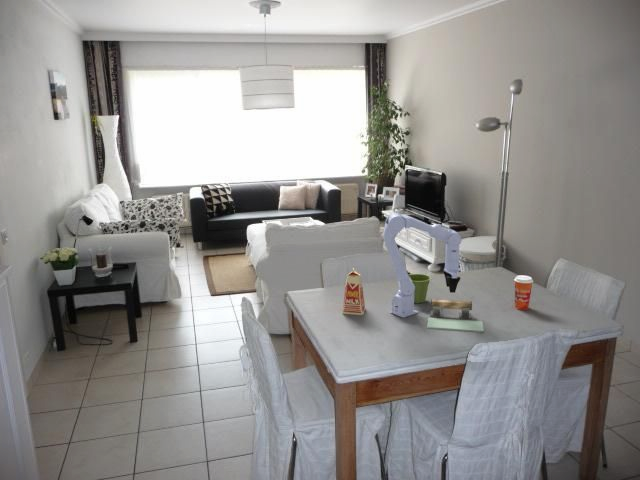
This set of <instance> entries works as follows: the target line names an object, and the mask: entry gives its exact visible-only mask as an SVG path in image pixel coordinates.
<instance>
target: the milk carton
mask: <svg viewBox="0 0 640 480" xmlns="http://www.w3.org/2000/svg"><path fill="white" fill-rule="evenodd" d="M345 280H346V281H345V287H344V298H343V306H342V313H341V314H342V315H343V314H344V315H355V316H364V313H365V310H366V303H365V296H364V287H363V282H362V281H363V280H362V275H361V274H360V273H359V272H357V271H356V270H355V268H354V267H352V270H351V272H349V273H348V274H347V276H346V279H345Z"/></svg>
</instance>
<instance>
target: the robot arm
mask: <svg viewBox="0 0 640 480" xmlns="http://www.w3.org/2000/svg"><path fill="white" fill-rule="evenodd" d="M383 228H384V229H383V233H382V239H383V242H384V243H385V244H384V245H385V248H386V249H387V252H388V255H389V257H390V260H391V263H392V266H393V268H394V271H395V274H396V277H397V285H398V290H397V292H396V294H395V295H393V297H392V299H391V310H390V313H391V314H394V315H395V316H398V317H401V318H406V317H409V316H413V315H415V314H417V313H419V311H418V310H415V302H414V290H415V286H414V284H413V283H412V280H411V278H410V277H409V276H408V275H409V273H408V272H407V271H408V270H407V268H406V266H405V264H404V259H403V258H402V255H401V252H400V250H399V247H398V244H397V242H396V237H397V236H398V234H399V233H400V232H402V230H403V229H404V228H405V229H406V230H407V229H409V228H414V229H415V230H416V229H417V230H420V231H423V232H424V233H428V235H429V237H430V238H432V239H435V240H438V241H440V242H443V243H445V255H444V259H445V260H444V268H443V270H442V272H443V275H444V278H445V279H444V280H445V285H446V287H447V288H448V291H449V293H456V290H457V287H458V284H459V282H460V281H461V276H458V274H459V272H462V268H460V267H459V266H460V245H461V243H462V238H461V235H460V234H459V233H458V232H457V231H456V230H454V229H452V228H449V227H448V228H447V227H444V226H442V224H440V223H438V224H436V223H435V224H432V225H431V224H428V223H427V222H424V221H422V220H419V219H417V218H414V217H412V216H410V215H406V214H405V213H404V214H403V213H402V214H401V213H399V212H391V213H390V214H389V215H388V216H387V218H386V219H385V223H384V227H383Z"/></svg>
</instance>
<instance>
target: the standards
mask: <svg viewBox="0 0 640 480" xmlns="http://www.w3.org/2000/svg"><path fill="white" fill-rule="evenodd" d="M470 311H471V310H470V307H462V310H461V312H459V313H458V319H460V320H472V313H470ZM429 316H430V317H429V318H443V311H441V308H440V306H438V305H433V308H432V310H430V315H429Z"/></svg>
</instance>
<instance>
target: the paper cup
mask: <svg viewBox="0 0 640 480" xmlns="http://www.w3.org/2000/svg"><path fill="white" fill-rule="evenodd" d="M513 280H514V308H515V309H516V308H517V310H520V311H527V310H528V309H529V307H530V301H531V293H532V287H533V283H534V280H533V278H532V277H531V276H529V275H523V274H521V275H516V276H515V278H514V279H513Z"/></svg>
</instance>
